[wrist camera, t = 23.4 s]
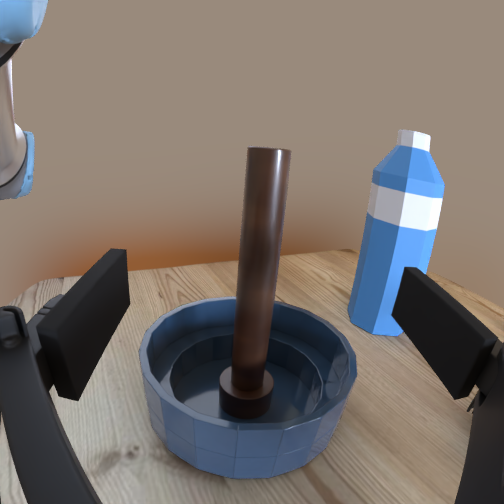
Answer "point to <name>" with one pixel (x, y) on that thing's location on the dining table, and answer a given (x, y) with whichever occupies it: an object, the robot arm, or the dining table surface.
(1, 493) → the dining table surface
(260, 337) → the pestle
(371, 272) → the water bottle
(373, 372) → the dining table surface
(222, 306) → the bowl
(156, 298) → the dining table surface
